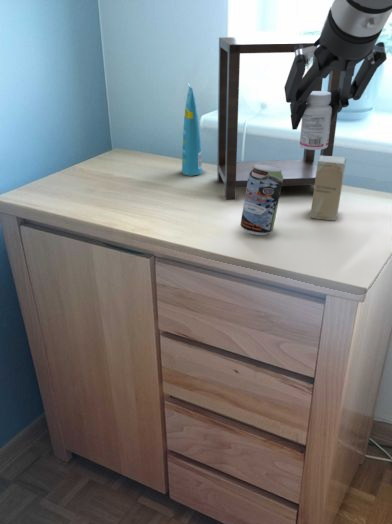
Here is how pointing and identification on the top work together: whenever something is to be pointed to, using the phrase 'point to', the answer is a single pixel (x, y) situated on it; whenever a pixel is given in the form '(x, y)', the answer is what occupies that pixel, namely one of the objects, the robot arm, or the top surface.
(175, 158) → the top surface
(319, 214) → the box
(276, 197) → the beverage can
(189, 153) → the tube
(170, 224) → the top surface
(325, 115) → the pill bottle
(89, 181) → the top surface
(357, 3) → the robot arm
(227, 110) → the rack
